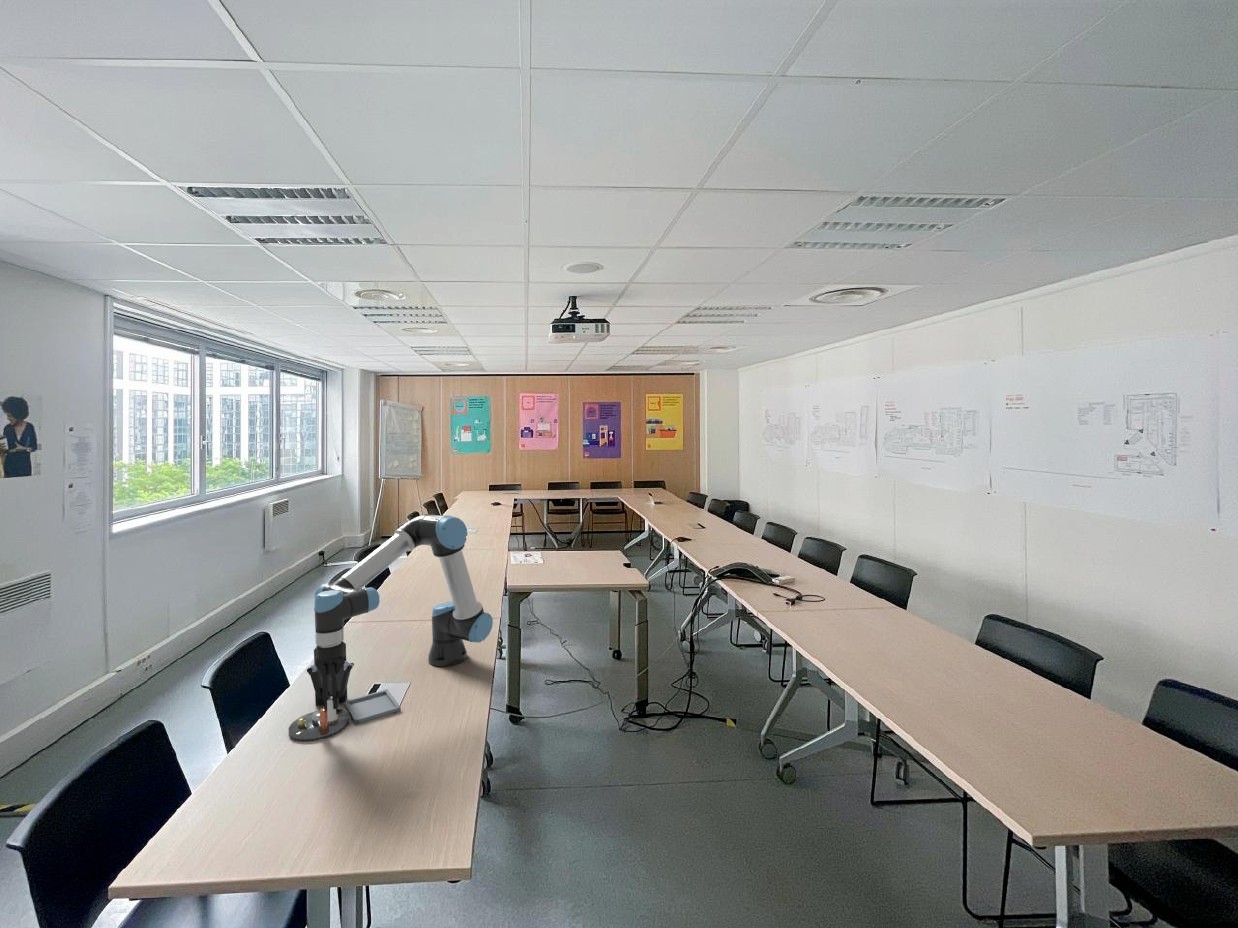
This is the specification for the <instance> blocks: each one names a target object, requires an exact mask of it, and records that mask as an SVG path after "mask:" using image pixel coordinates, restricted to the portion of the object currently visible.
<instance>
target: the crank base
mask: <svg viewBox="0 0 1238 928" xmlns="http://www.w3.org/2000/svg"><path fill="white" fill-rule="evenodd" d="M317 711H320V709H319V710H315V711H312V712H310V713H306V714H304V715H302V716H300V717H298V718H297V719H295V720H294V721H293V722H292V723H291V724H290V725H289V727H288V736H289V738H290V739H291V740H292V741H295V742H299V743H300V742H301V743H310V742H317V741H321V740H325V739H329V738H331V737H333V736H335V735H338V734H339V733H341V732H342V731H344V730H345V729H346V728H348V726H349V725H350V723H351V717H350V714H349V713H348V711H347V710H346V709H342V708H337V709H336V718H335V719H334V720H333V721H330V722H329V732H328V733H326V734H320V728H319V726H318V725H313V724H312V714H313V713H315V712H317Z"/></svg>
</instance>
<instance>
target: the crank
mask: <svg viewBox="0 0 1238 928" xmlns="http://www.w3.org/2000/svg"><path fill="white" fill-rule="evenodd" d="M319 710H320V711H319ZM319 710H316V711H317V712H315V711H314V712H315V713H313V714H312V724H313V725H318V726H319V728H320V734H326V733H328V732H329V722H328V716H327V710H325V709H324V707H321V708H320V709H319Z"/></svg>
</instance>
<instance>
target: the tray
mask: <svg viewBox="0 0 1238 928" xmlns="http://www.w3.org/2000/svg"><path fill="white" fill-rule="evenodd" d="M343 705H344V707H345V710H346V711H347V712H348V713H349V714H350V719H351V720H352V722H353V724H354V725H355V726H357V725H361V724H365V723H367V722H371V721H374V720H375V721H376V720H377V719H382V718H384V717H387V716H391V715H394V714H397V713H401V712H402V707H401V705H400V704H399V703H398V702H397V700H396V699H395V697H394V696H393V695H392V693H391V692H390V691H389V690H388V689H387V688H386V689H383V690H379V691H376V692H372V693H369V694H365V695H362V696H357V697H354V698H350V699H347V700H346V701H344V704H343Z"/></svg>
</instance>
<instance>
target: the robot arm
mask: <svg viewBox="0 0 1238 928" xmlns="http://www.w3.org/2000/svg"><path fill="white" fill-rule="evenodd" d="M467 537H468V528H467V526H466V523H465V522H464V521H463V519H460V518H458V517H456V516H452V515H439V514H431V513H425V514H420V515H418V516H416V517H413V518H412V519H409V520H408V521H406V522H405V523H403V524H401V526H399V527H398V528H397V529H395V530H394V532H393V536H391V537H390V538H388V539H387V540H385V542H383V543H382V544H381V545H380V546H379V547H377V548H376V549H374V550H373V551H371V553H369V554H368V555H367V556H366V557H364V558H363V559H362V560H361V561H359V562H357V564H355V565H354V566H353V567H351V568H350V569H349V570H347V571H346V572H345V573H343V575H341V576H340V577H339V578H337V580H334V581H333V582H332V583H330V582H329V583H323V584H320V586H318V588H317V589H316V591H315V593H314V608H313V610H314V627H315V631H314V632H315V635H314V636H315V637H314V638H315V645H316V646H315V648H316V661H315V664H314V663H313V664H312V665H311V664H310V666H309V667H308V668H307V669H306V673H307V674H308V675H309V676H310V680H311V682H312V686H313V689H314V694H315V693H316V696H317V698H318V699H319V698H322V699H323V700H324V707H323V708H324V709H325V710H327V716H328V722H330V721H333V720H334V719H335V718H336V709H339V707H340V705H339V697H342V696H343V695H344V694H345V692H346V688H347V689H348V684H349V683H348V682H349V678H350V674H351V670H353V668H354V666H355V663H354V662H348V661H347V657H346V658H345V657H344V643H345V642H344V639H345V638H344V636H345V635H344V634H345V633H344V623H345V622H344V620H348V619H351V618H353V617H357V616H360V615H363V614H368V613H370V612H371V611H374V610H376V609H377V608H379V605H380V594H379V592H378V591H377V589H376V588H374V587H366V586H367V585H368V584H369V583H371V582H372V581H373V580H374V579H375V578H376V577H378V575H380V574H381V573H383V571H385V570H386V569H387V568H388V567H390V566H391V565H392V564H393V563H395V562H396V561H397V560H398V559H399V558H401V557H402V556H403V555H404V554H406V553H407V552H411V551H413V550H415V549H416V548H417V547H419V546H423V545H424V546H430V547H431V551H432V554H433V556H434V557H435V558H438V559H439V561H440V565H441V568H442V572H443V574H444V577H445V580H446V584H447V587H448V590H449V593H450V596H451V600H452V601H447V602H442V603H439V604H436V605H434V606H433V608H432V610H431V614H432V615H431V627H432V628H431V630H432V633H431V635H432V643H431V646H430V649H429V653H428V655H427V656H428V659H427V661H428V663H429V664H430V665H431V666H434V667H450V666H455V665H459V664H461V663H462V662H464V661H465V660H466V659H467V657H468V654H467V653H468V652H467V648H466V646H465V643H464V641H467V642H470V643H482V642H483V641H485V640H486V639H487V638H488V636H489V635H490V633H491V631H492V629H493V623H494V619H493V616H492V615H491V614H490V613H489V612H485V610H484V607H483V604H482V602H481V601H478V600H477V597H476V594H475V593H476V592H475V589H474V588H473V584H472V583H473V582H472V580H471V577H470V574H469V570H468V567H467V564H466V560H465V557H464V553H463V549H464V548H465V544H466V542H467V539H468V538H467ZM343 665H344V670H345V672H344V674H343V678H342V683H341V687H340V691H339V670H340V669H341V668H342V666H343ZM317 668H318V669H319V671H320V672H321V673H322V678H323V687H322V684H321V681H320V677H319V674H318V671H317ZM330 674H331V678H332V696H330V695H331V694H330Z"/></svg>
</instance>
